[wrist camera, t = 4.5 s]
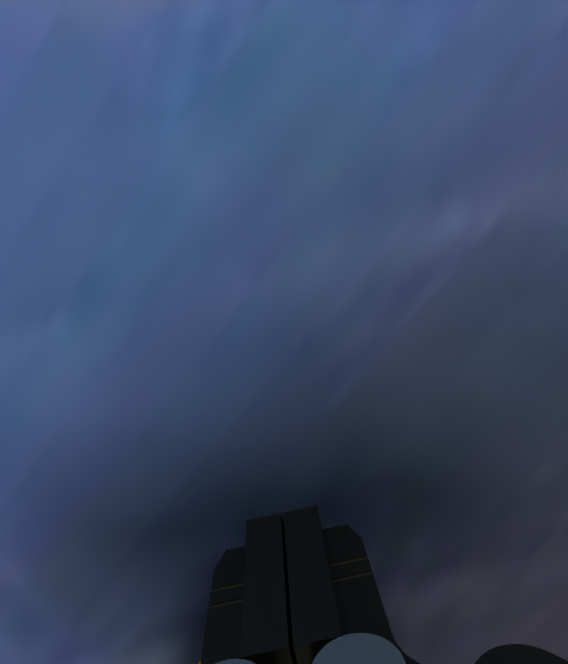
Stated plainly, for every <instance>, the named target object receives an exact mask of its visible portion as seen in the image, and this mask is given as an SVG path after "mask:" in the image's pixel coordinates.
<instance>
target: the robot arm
mask: <svg viewBox="0 0 568 664" xmlns="http://www.w3.org/2000/svg"><path fill="white" fill-rule="evenodd" d="M209 607H210V609H208V616H207V623H206V630H205V637H204V644H203V651H202V658H201V664H420V663H418V662H416V661H415V660H413V659H411V658H410V657H409V656H407V655H406V654H405V653H404V652H403V651H402V650H401V649H400V648H399V646H398V645H397V643H396V642H395V640H394V638H393V635H392V633H391V630H390V627H389V623H388V620H387V617H386V614H385V611H384V608H383V605H382V601H381V598H380V595H379V592H378V589H377V586H376V583H375V580H374V576H373V574H372V570H371V567H370V564H369V561H368V558H367V554H366V551H365V548H364V545H363V542H362V539H361V537H360V536H359V535H358V534H356V533H355V532H354V531H353V530H352V529H351V528H350V527H348V526H347V525H343V526H338V527H333V528H329V529H324V530H322V528H321V523H320V518H319V514H318V509H317V506H312V507H307V508H303V509H298V510H293V511H288V512H284V520H283V517H282V514H281V513H280V514H275V515H270V516H265V517H261V518H256V519H251V520H248V521H247V535H246V546H244V547H239V548H234V549H230V550H226V552H225V553H224V555H223V556H222V558H221V559H220V561H219V562H218V564H217V565H216V567H215V568H214V574H213V581H212V592H211V595H210V602H209ZM475 664H568V661H566V660H564V659H562V658H560V657H558V656H556V655H554V654H552V653H550V652H548V651H545V650H543V649H540V648H537V647H533V646H528V645H522V644H510V645H502V646H499V647H495V648H493V649H491V650H488V651H487V652H486V653H484V654H483V655H482V656H481V657H480V658H479V659H478V660H477V661H476V663H475Z"/></svg>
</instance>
